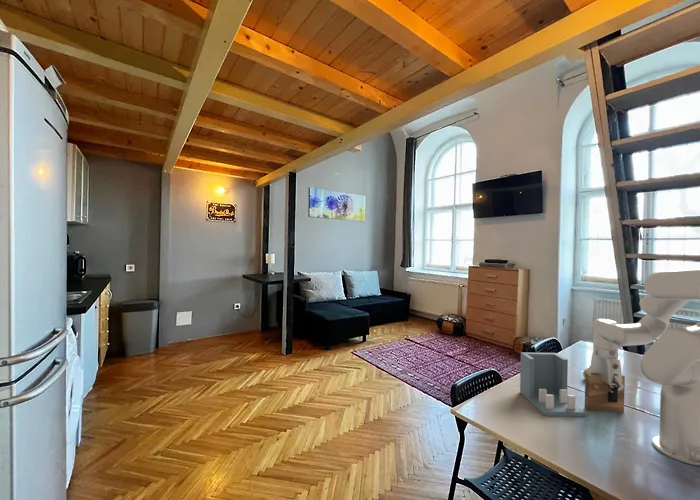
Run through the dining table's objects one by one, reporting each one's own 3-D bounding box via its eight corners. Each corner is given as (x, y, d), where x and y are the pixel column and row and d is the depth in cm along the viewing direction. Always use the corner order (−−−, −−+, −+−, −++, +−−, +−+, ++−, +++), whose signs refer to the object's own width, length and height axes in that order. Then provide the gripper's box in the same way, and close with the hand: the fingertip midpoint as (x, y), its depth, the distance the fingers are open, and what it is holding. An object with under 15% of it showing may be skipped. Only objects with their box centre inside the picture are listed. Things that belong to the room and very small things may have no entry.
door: (626, 413, 118) (627, 377, 118) (590, 412, 119) (591, 376, 118) (618, 408, 121) (619, 373, 121) (584, 408, 122) (585, 372, 122)
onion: (608, 383, 143) (608, 368, 143) (598, 387, 139) (599, 371, 139) (588, 377, 150) (589, 362, 150) (579, 380, 147) (579, 365, 147)
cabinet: (585, 416, 116) (586, 370, 115) (544, 415, 117) (545, 369, 116) (555, 393, 134) (556, 352, 133) (520, 392, 135) (520, 352, 134)
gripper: (635, 360, 111) (633, 409, 111) (598, 344, 128) (597, 386, 129) (613, 359, 111) (612, 408, 112) (579, 344, 129) (578, 386, 129)
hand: (604, 396), depth 120 cm, fingers open, 7 cm apart
